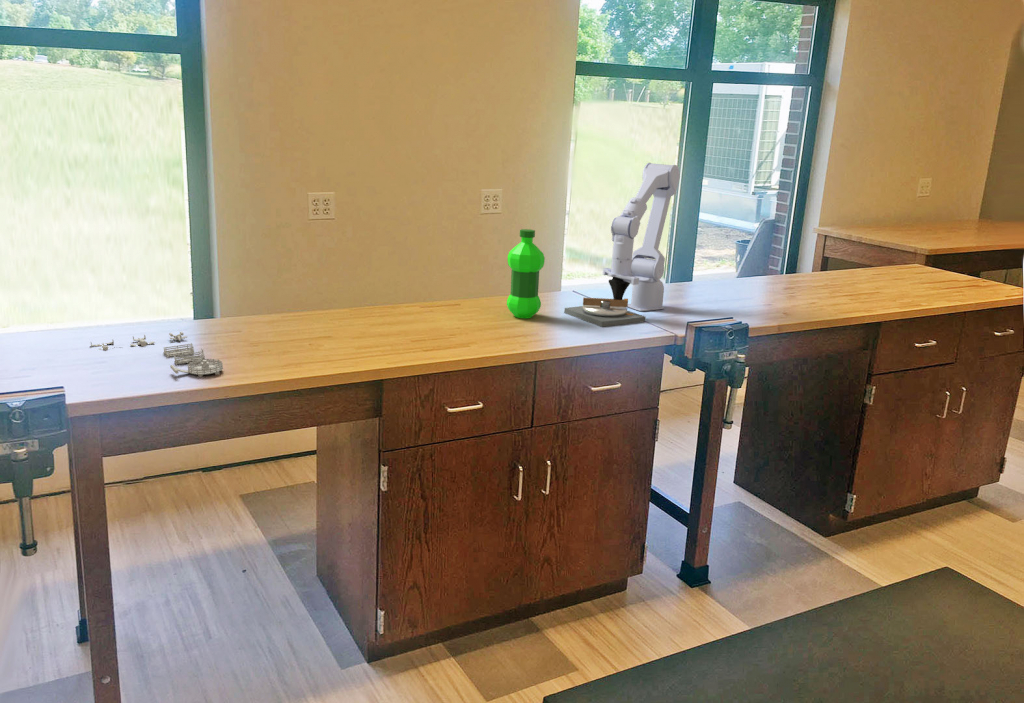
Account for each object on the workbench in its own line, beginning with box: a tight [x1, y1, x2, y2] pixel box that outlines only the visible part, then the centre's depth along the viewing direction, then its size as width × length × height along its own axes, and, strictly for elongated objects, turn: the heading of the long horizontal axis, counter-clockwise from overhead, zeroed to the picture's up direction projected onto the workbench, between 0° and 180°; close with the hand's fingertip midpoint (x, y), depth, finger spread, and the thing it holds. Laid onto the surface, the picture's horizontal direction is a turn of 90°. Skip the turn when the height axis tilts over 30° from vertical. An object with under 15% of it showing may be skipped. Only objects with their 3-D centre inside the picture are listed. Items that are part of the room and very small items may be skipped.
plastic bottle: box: [506, 228, 545, 319], centre depth 252 cm, size 10×10×25 cm
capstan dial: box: [582, 297, 629, 317], centre depth 258 cm, size 13×13×4 cm
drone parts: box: [90, 331, 224, 378], centre depth 199 cm, size 23×35×3 cm, turn 33°
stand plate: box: [563, 305, 646, 328], centre depth 259 cm, size 16×18×2 cm
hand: (617, 303), depth 259 cm, fingers closed, pressing on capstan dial
